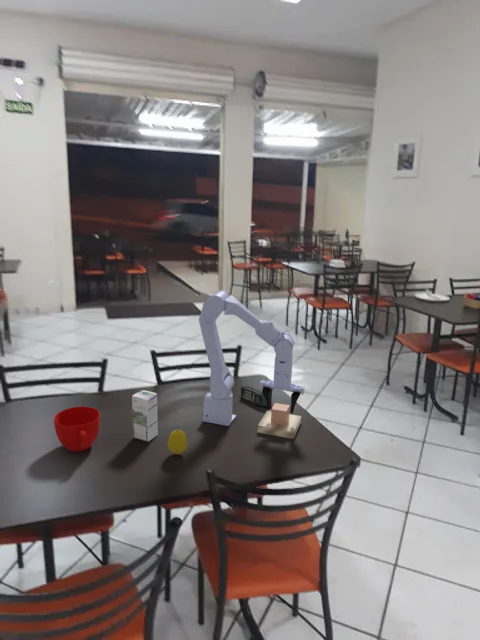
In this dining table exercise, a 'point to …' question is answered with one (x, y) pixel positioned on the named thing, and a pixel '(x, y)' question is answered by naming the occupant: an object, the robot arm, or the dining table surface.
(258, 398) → the mobile phone
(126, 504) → the dining table surface
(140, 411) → the syrup box
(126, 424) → the dining table surface
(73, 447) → the ceramic cup
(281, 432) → the birch block
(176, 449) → the lemon
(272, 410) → the terracotta cube
